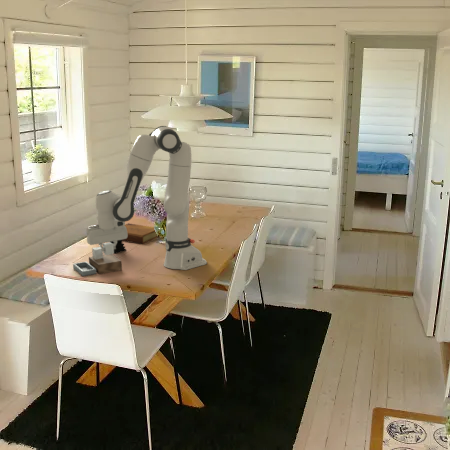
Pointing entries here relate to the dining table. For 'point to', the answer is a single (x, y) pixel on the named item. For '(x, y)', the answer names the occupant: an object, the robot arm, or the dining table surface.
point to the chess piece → (119, 246)
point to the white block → (97, 253)
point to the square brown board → (106, 264)
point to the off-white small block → (108, 248)
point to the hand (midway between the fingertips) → (108, 250)
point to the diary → (139, 233)
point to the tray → (84, 268)
